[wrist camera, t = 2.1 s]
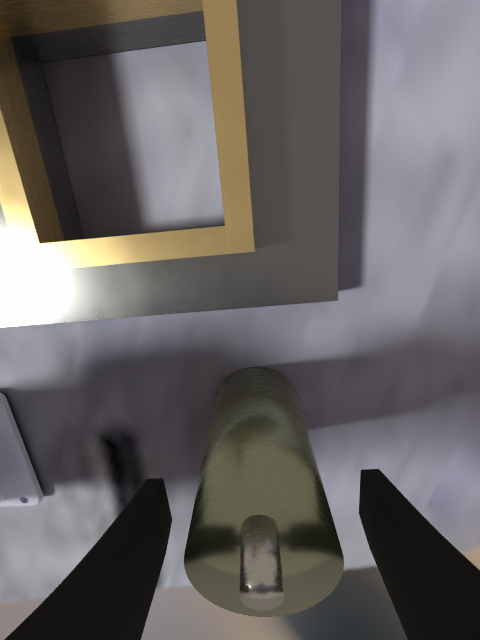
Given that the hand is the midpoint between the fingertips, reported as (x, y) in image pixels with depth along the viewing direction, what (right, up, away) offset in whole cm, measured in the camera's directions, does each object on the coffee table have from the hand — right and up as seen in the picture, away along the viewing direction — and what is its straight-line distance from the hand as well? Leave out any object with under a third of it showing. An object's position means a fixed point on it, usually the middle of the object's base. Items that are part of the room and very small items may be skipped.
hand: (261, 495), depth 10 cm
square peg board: (-5, +14, +2) cm, 15 cm away
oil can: (0, +2, +5) cm, 6 cm away
